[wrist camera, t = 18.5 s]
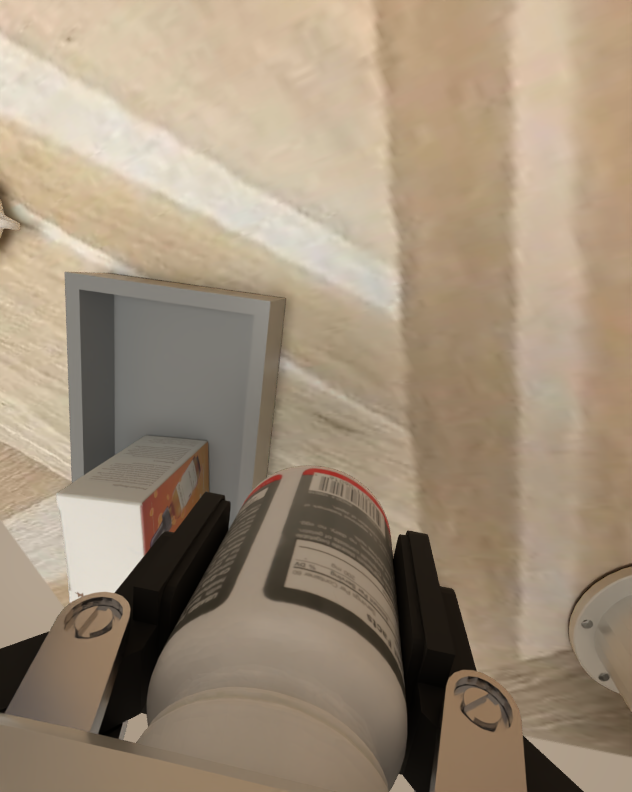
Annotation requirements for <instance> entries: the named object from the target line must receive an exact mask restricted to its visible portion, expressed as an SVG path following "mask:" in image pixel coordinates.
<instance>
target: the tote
mask: <svg viewBox="0 0 632 792" xmlns="http://www.w3.org/2000/svg"><path fill="white" fill-rule="evenodd" d="M65 296H66V325H67V355H68V384H69V413H70V442H71V471H72V483H73V482H74V481H76V480H78V479H79V478H80V477H82V476H84V475H85V474H87V473H88V472H90V471H91V470H93V469H94V468H96V467H97V466H99V465H101V464H102V463H104V462H105V461H107V460H108V459H110V458H111V457H113V456H114V455H116V454H117V453H119V452H121V451H122V450H124V449H125V448H127V447H128V446H130V445H131V444H133V443H134V442H136V441H137V440H139V439H141V438H142V437H144V436H146V435H149V436H160V437H171V438H182V439H192V440H202V441H207V442H208V460H209V492H211V493H216V494H222V495H225V500H226V501H230V502H231V509H230V519H229V528H230V527H231V525H232V523H233V521H234V520H235V518H236V516H237V514H238V512H239V510H240V509H241V507H242V505H243V503H244V502H245V500H246V498H247V497H248V495H249V494H250V493H251V492H252V490H253V489H254V488H255V487H256V486H257V485H258V484H259V483H260V482H262V481H263V480H264V479H266V478H267V471H268V461H269V452H270V443H271V434H272V424H273V415H274V406H275V397H276V387H277V378H278V369H279V359H280V350H281V341H282V332H283V322H284V313H285V304H286V298H281V297H274V296H267V295H260V294H253V293H246V292H239V291H232V290H225V289H218V288H211V287H204V286H197V285H190V284H183V283H176V282H169V281H162V280H154V279H147V278H140V277H133V276H126V275H119V274H112V273H87V272H65ZM228 530H229V529H228Z"/></svg>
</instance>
